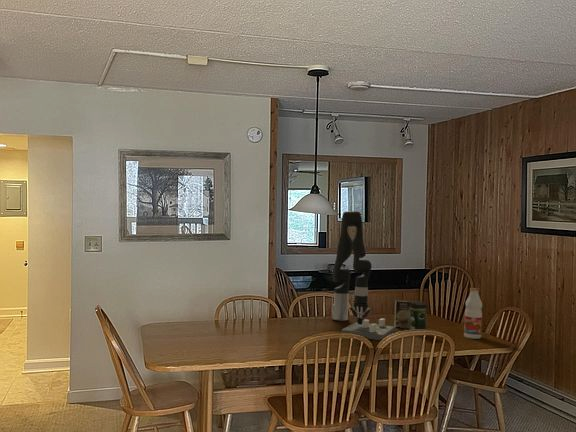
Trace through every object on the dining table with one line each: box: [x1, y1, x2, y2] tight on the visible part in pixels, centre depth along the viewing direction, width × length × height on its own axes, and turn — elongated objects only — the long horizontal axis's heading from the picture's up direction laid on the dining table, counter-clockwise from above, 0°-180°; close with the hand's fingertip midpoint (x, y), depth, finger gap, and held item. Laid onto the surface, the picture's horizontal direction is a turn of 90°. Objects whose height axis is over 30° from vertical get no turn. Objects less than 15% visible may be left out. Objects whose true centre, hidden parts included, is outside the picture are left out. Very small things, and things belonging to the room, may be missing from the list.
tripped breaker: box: [362, 318, 370, 328], centre depth 328 cm, size 2×5×4 cm, turn 155°
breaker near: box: [369, 322, 377, 332], centre depth 317 cm, size 2×5×4 cm, turn 154°
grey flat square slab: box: [340, 321, 396, 341], centre depth 327 cm, size 24×26×3 cm
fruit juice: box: [463, 287, 483, 340], centre depth 326 cm, size 9×9×28 cm
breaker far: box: [378, 317, 386, 327], centre depth 333 cm, size 2×5×4 cm, turn 154°
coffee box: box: [393, 299, 412, 329], centre depth 348 cm, size 9×6×16 cm
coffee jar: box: [408, 300, 427, 331], centre depth 332 cm, size 10×8×19 cm
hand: (360, 324), depth 329 cm, fingers closed
